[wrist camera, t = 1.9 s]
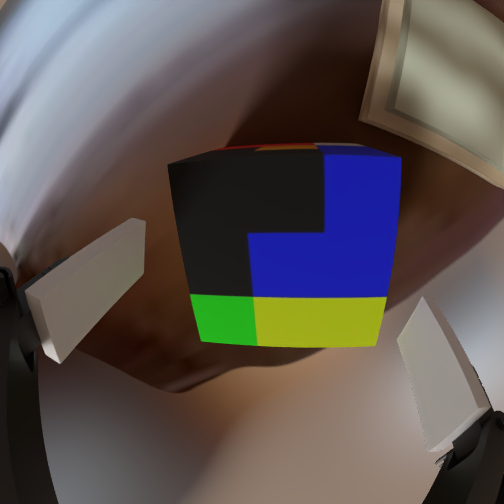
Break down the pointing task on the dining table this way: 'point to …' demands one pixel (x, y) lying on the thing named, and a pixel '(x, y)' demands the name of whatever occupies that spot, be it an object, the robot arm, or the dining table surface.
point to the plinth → (441, 81)
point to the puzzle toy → (288, 241)
